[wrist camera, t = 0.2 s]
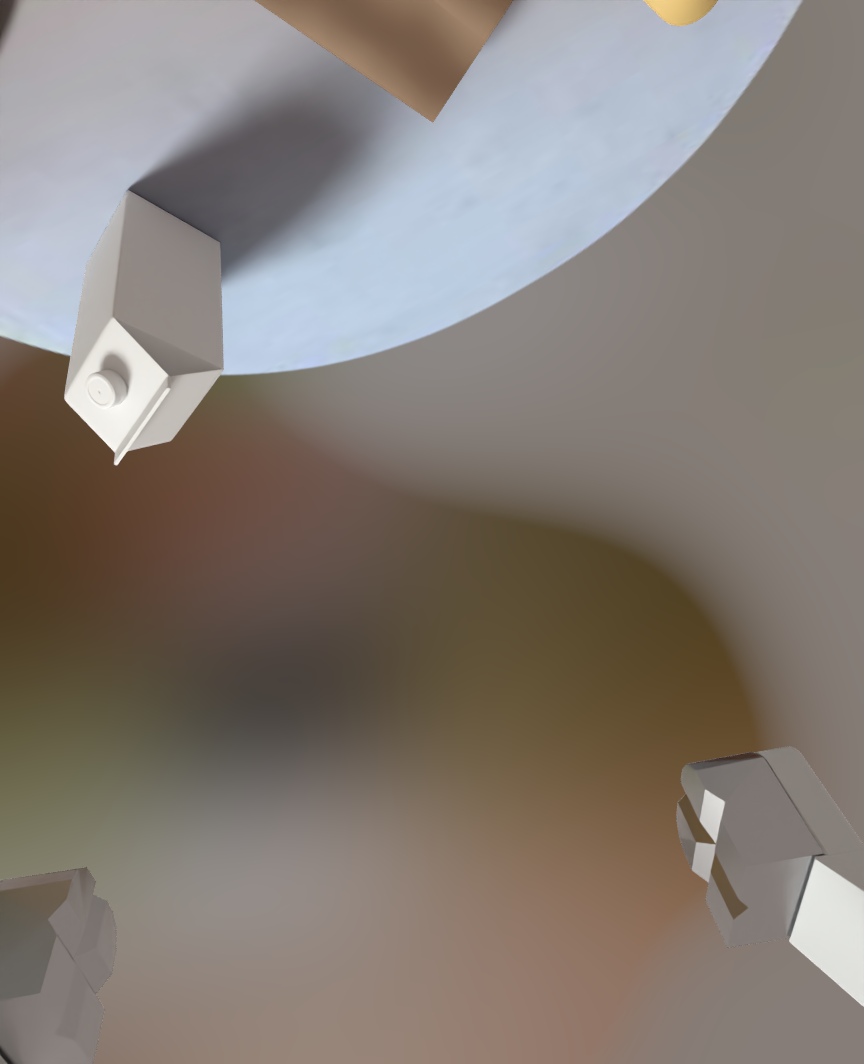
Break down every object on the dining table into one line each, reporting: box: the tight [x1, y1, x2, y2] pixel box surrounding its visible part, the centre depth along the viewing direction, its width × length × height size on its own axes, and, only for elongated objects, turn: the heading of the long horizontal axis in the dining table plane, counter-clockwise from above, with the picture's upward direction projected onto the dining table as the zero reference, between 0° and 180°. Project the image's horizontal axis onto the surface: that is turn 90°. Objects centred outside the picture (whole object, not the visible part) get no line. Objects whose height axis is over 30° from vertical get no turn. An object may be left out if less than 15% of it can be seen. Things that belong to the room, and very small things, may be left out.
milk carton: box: [65, 190, 224, 465], centre depth 52 cm, size 7×7×19 cm
